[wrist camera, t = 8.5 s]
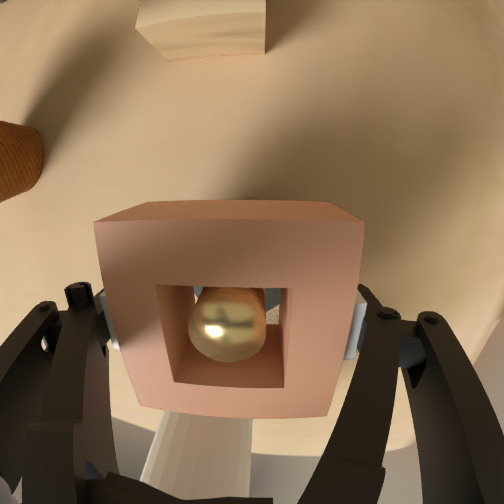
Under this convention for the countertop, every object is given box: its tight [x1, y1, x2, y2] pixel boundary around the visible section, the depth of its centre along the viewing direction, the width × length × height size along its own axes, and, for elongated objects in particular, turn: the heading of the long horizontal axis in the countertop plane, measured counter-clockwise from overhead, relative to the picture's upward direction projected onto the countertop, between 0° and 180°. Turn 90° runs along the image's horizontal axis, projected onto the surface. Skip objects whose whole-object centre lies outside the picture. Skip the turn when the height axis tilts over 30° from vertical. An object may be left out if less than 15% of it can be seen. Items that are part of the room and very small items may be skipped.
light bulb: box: [188, 286, 280, 363], centre depth 15 cm, size 7×7×10 cm
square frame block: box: [94, 200, 366, 419], centre depth 12 cm, size 9×9×5 cm
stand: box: [135, 0, 266, 61], centre depth 11 cm, size 7×7×6 cm
